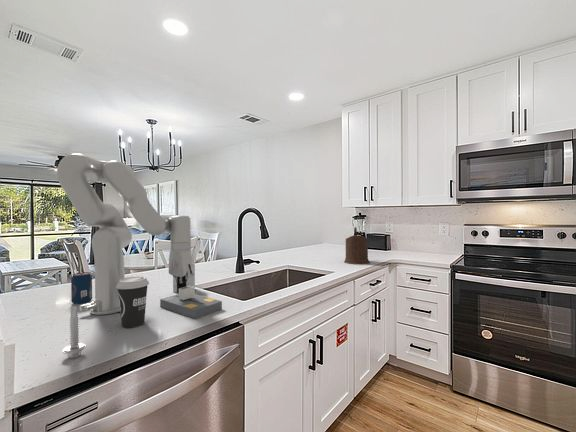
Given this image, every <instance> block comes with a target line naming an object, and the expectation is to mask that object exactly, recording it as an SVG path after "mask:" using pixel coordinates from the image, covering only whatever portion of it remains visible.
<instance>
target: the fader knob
mask: <svg viewBox="0 0 576 432" xmlns="http://www.w3.org/2000/svg"><path fill="white" fill-rule="evenodd" d="M195 288H196V286H195V287H193V286H187V287H183V288H179V293H178V294H179V299H181V300H186V299H189V298H193V297H195V294H196V292H195V291H196V290H195Z"/></svg>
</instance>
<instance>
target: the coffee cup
mask: <svg viewBox="0 0 576 432" xmlns="http://www.w3.org/2000/svg"><path fill="white" fill-rule="evenodd" d="M149 284H150V282H149V280H148V279H147V277H146V276H141V275H140V276H127V277H124V278H123V279H120V280H119V282H118V283H117V285H116V288H117V289H118V295H119V303H120V320H121V327H122V328H124V329H133V328H137V327H138V328H139V327H140V326H143V325H144V324H145V319H146V307H147V306H146V305H147V297H148V296H147V295H148V286H149Z"/></svg>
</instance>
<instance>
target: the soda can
mask: <svg viewBox="0 0 576 432" xmlns="http://www.w3.org/2000/svg"><path fill="white" fill-rule="evenodd" d="M70 281H71V282H70V283H71V286H70V288H71V289H70V290H71V291H70V292H71V293H70V295H71V296H70V298H71V302H72V304H73V306H78V305H79V306H80V305H84V304H89V303H90V302H92V300H93V277H92V275H91V272H88V271H85V272H77V273H73V274H72V277H71V279H70Z"/></svg>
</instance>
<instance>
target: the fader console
mask: <svg viewBox="0 0 576 432" xmlns="http://www.w3.org/2000/svg"><path fill="white" fill-rule="evenodd" d="M159 299H160V300H159V305H160V306H159V307H160V308H162V309H165V310H168V311H171V312H175V313H177V314H180V315H183V316H186V317H189V318H192V319H195V320H196V319H198V318H202V317H205V316H206V315H210V314H212V313H215V312H218V311H221V310H222V309H223V301H222V300H218V299H214V298H211V297H208V296H204V295H201V294H200V295H199V294H196V293H195V297H193V298H189V299H186V300H181V299H179V293H177V294H175V295H171V296H166V297H164V298H159Z"/></svg>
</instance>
